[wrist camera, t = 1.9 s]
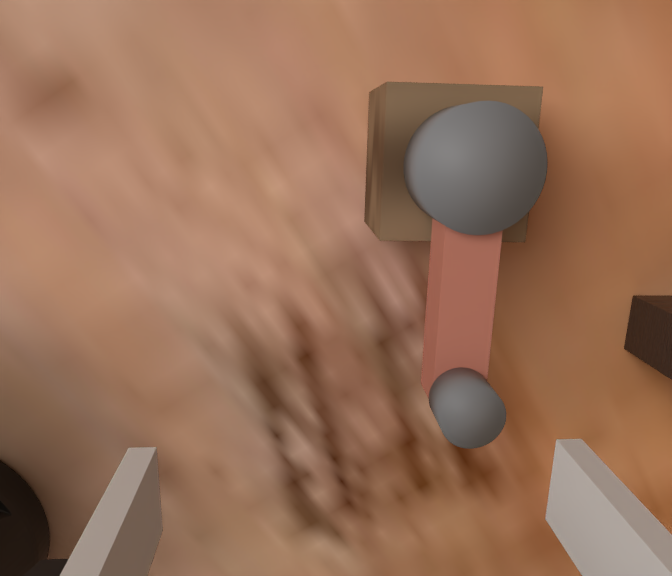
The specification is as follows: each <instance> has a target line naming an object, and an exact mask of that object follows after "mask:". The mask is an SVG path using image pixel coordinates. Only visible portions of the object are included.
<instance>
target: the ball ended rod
mask: <svg viewBox="0 0 672 576" xmlns="http://www.w3.org/2000/svg"><path fill="white" fill-rule="evenodd" d="M546 173H547V152H546V147H545V144H544V141H543V138H542V136H541V134H540V132H539V130H538V128H537V127H536V125H535V124H534V122H533V121H532V120H531V119H530V118H529V117H528V116H527V115H526V114H524V113H523V112H522V111H520V110H519V109H517V108H515V107H513V106H511V105H509V104H506V103H502V102H498V101H477V102H472V103H467V104H461V105H456V106H451V107H448V108H445V109H442V110H440V111H438V112H436V113H434V114H433V115H431V116H430V117H428V118H427V119H426V120H425V121H424V122H423V123H422V124H421V125H420V126H419V127H418V128H417V130H416V131H415V133H414V134H413V136H412V137H411V139H410V141H409V144H408V146H407V149H406V153H405V157H404V179H405V183H406V187H407V190H408V192H409V194H410V196H411V198H412V200H413V201H414V202H415V204H416V205H417V206H418V207H419V208H420V209H421V210H422V211H423V212H424V213H426V214H427V215H428V216H430V217H432V218H433V219H432V233H431V247H430V262H429V276H428V290H427V305H426V319H425V334H424V348H423V362H422V377H421V384H422V386H423V388H424V390H425V392H426V394H427V396H428V398H429V405H430V408H431V410H432V412H433V414H434V416H435V418H436V420H437V422H438V424H439V426H440V428H441V430H442V432H443V434H444V436H445V437H446V438H447V439H448V440H449V441H450V442H451V443H452V444H454V445H456V446H458V447H462V448H478V447H481V446H484V445H486V444H488V443H490V442H491V441H493V440H494V439H495V438H496V437H497V436H498V435H499V434H500V432H501V431H502V429H503V427H504V425H505V421H506V409H505V406H504V403H503V402H502V400H501V399H500V397H499V396H498V395H497V393H496V392H495V391H494V390H493V388H492V387H491V386H490V384H489V383H488V382H487V377H488V367H489V357H490V348H491V338H492V328H493V319H494V309H495V299H496V290H497V280H498V270H499V261H500V251H501V241H502V232H503V230H504V229H506V228H508V227H510V226H512V225H513V224H515V223H517V222H518V221H519V220H520V219H521V218H523V217H524V216H525V215H526V214H527V213H528V212H529V211H530V209H531V208H532V207H533V205H534V204H535V202H536V201H537V199H538V197H539V196H540V193H541V191H542V189H543V186H544V183H545V179H546Z"/></svg>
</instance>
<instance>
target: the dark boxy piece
mask: <svg viewBox="0 0 672 576" xmlns="http://www.w3.org/2000/svg"><path fill="white" fill-rule="evenodd" d="M624 349H625V350H627V351H628V352H630V353H632V354H633V355H635V356H636V357H638V358H639V359H641V360H642V361H644V362H645V363H647V364H648V365H650V366H651V367H653V368H655V369H656V370H658V371H659V372H661V373H662V374H664V375H665V376H667V377H668V378H670V379H671V380H672V296H633V299H632V305H631V311H630V317H629V323H628V329H627V334H626V340H625V346H624Z"/></svg>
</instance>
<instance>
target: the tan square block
mask: <svg viewBox="0 0 672 576" xmlns="http://www.w3.org/2000/svg"><path fill="white" fill-rule="evenodd" d="M542 93H543V87H537V86H505V85H474V84H442V83H411V82H386V83H384V84H382V85H381V86H379V87H377V88H376V89H374V90H372V91H371V92H369V113H368V139H367V166H366V193H365V220H364V221H365V223H366V224H367V225H368V226H369V228H370V229H371V230H372V231H373V233H374V234H375V235H376V236H377V238H378V239H379V240H380V241H431V233H432V219H433V218H432V217H430V216H428V215H427V214H426V213H424V212H423V211H422V210H421V209H420V208H419V207H418V206H417V205H416V204H415V202H414V201H413V200H412V198H411V196H410V194H409V192H408V190H407V187H406V183H405V179H404V157H405V153H406V149H407V146H408V144H409V141H410V139H411V137H412V136H413V134H414V133H415V131H416V130H417V128H418V127H419V126H420V125H421V124H422V123H423V122H424V121H425V120H426V119H427V118H428V117H430V116H431V115H433V114H434V113H436V112H438V111H440V110H442V109H445V108H448V107H451V106H456V105H461V104H467V103H472V102H477V101H498V102H502V103H506V104H509V105H511V106H513V107H515V108H517V109H519V110H520V111H522V112H523V113H524V114H526V115H527V116H528V117H529V118H530V119H531V120H532V121H533V122H534V124H535V125H536V127H537V128H539V119H540V111H541V102H542ZM528 215H529V212H528V213H527V214H526V215H525V216H524V217H523V218H521V219H520V220H519V221H518V222H517V223H515V224H513V225H512V226H510V227H508V228H506V229H504V230H503V232H502V241H501V242H525V241H526V232H527V224H528Z"/></svg>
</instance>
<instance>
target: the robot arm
mask: <svg viewBox="0 0 672 576" xmlns="http://www.w3.org/2000/svg"><path fill="white" fill-rule="evenodd" d="M545 519H546V521H547V522H548V524H549V525H550V527H551V528H552V530H553V532H554V533H555V535H556V536H557V538H558V539H559V541H560V542H561V544H562V545H563V547H564V548H565V550H566V552H567V553H568V555H569V556H570V558H571V559H572V561H573V562H574V564H575V565H576V567H577V568H578V570H579V572H580V573H581V575H582V576H672V535H671V534H670V533H669V531H668V530H667V529H666V528H665V527H664V526H663V525H662V524H661V523H660V522H659V521H658V520H657V519H656V518H655V517H654V515H653V514H652V513H651V512H650V511H649V510H648V509H647V508H646V507H645V506H644V505H643V504H642V503H641V502H640V501H639V500H638V498H637V497H636V496H635V495H634V494H633V493H632V492H631V491H630V490H629V489H628V488H627V487H626V486H625V485H624V484H623V483H622V481H621V480H620V479H619V478H618V477H617V476H616V475H615V474H614V473H613V472H612V471H611V470H610V469H609V468H608V467H607V465H606V464H605V463H604V462H603V461H602V460H601V459H600V458H599V457H598V456H597V455H596V454H595V453H594V452H593V451H592V450H591V448H590V447H589V446H588V445H587V444H586V443H585V442H584V441H583V440H582V439H556V446H555V453H554V460H553V467H552V475H551V482H550V489H549V496H548V504H547V511H546V518H545ZM162 531H163V526H162V513H161V500H160V486H159V473H158V459H157V447H137V448H128V450H127V452H126V454H125V455H124V457H123V459H122V461H121V463H120V465H119V467H118V468H117V470H116V472H115V474H114V476H113V478H112V480H111V481H110V483H109V485H108V487H107V489H106V491H105V492H104V494H103V496H102V498H101V500H100V502H99V504H98V505H97V507H96V509H95V511H94V513H93V515H92V517H91V518H90V520H89V522H88V524H87V526H86V528H85V530H84V531H83V533H82V535H81V537H80V539H79V541H78V543H77V544H76V546H75V548H74V550H73V552H72V554H71V556H70V557H69V559H52V560H46V559H47V556H48V551H49V528H48V523H47V519H46V516H45V513H44V510H43V508H42V506H41V504H40V502H39V500H38V499H37V497H36V495H35V494H34V492H33V491H32V490H31V488H30V487H29V486H28V485H27V484H26V483H25V481H24V480H23V479H22V478H21V477H20V476H19V475H18V474H16V473H15V472H14V471H13V470H12V469H10V468H9V467H8V466H6V465H5V464H3V463H2V462H0V576H147V575H148V573H149V570H150V567H151V564H152V561H153V558H154V555H155V552H156V549H157V546H158V543H159V540H160V537H161V534H162Z"/></svg>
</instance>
